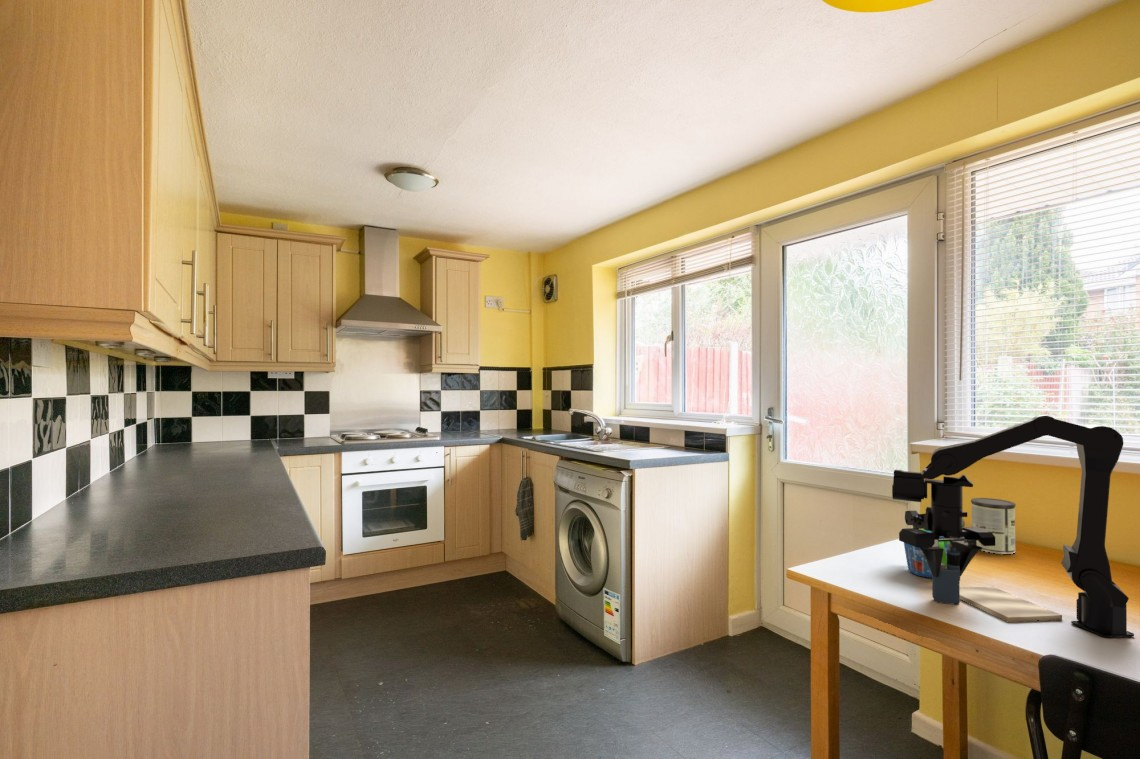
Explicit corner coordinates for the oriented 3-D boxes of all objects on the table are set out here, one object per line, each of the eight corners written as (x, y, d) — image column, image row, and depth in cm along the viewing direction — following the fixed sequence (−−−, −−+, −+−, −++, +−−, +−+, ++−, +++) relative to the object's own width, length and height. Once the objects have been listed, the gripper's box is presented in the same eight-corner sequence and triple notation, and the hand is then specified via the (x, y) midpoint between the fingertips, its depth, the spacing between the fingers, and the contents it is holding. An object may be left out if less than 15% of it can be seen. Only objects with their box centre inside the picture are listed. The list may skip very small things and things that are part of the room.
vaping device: (962, 604, 118) (962, 549, 118) (935, 602, 119) (935, 547, 120) (956, 600, 121) (956, 545, 121) (930, 598, 122) (930, 544, 122)
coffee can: (969, 542, 167) (969, 496, 167) (1012, 548, 161) (1012, 500, 162) (972, 551, 158) (972, 502, 158) (1018, 557, 153) (1018, 506, 153)
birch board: (1062, 620, 111) (1062, 615, 111) (1008, 622, 110) (1008, 617, 110) (992, 590, 127) (992, 586, 127) (945, 592, 125) (945, 588, 125)
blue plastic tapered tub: (891, 562, 147) (891, 524, 147) (936, 566, 144) (936, 527, 144) (913, 583, 132) (913, 540, 132) (964, 587, 129) (963, 543, 129)
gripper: (955, 496, 129) (955, 563, 129) (882, 498, 127) (882, 565, 127) (997, 507, 118) (997, 579, 118) (917, 508, 116) (917, 582, 116)
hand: (946, 576), depth 120 cm, fingers closed on vaping device, 5 cm apart
